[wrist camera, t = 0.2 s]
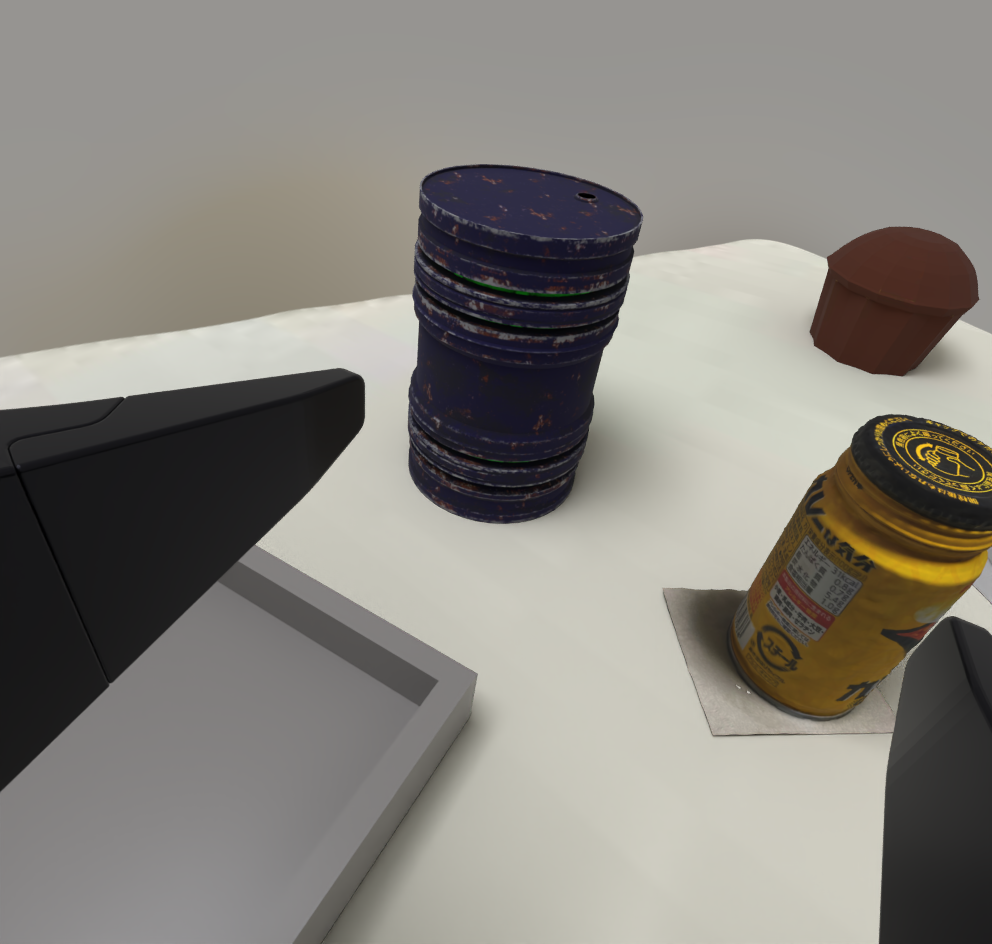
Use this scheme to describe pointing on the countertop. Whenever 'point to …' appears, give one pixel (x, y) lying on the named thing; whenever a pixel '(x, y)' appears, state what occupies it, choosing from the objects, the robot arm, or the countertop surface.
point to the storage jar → (511, 333)
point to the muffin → (892, 298)
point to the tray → (230, 773)
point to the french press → (986, 578)
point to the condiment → (844, 585)
